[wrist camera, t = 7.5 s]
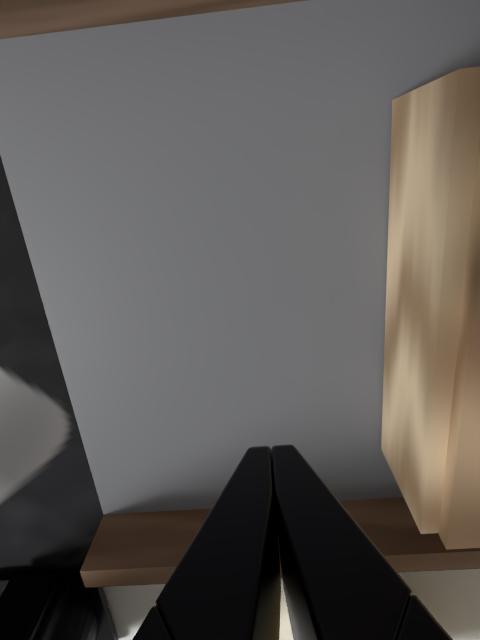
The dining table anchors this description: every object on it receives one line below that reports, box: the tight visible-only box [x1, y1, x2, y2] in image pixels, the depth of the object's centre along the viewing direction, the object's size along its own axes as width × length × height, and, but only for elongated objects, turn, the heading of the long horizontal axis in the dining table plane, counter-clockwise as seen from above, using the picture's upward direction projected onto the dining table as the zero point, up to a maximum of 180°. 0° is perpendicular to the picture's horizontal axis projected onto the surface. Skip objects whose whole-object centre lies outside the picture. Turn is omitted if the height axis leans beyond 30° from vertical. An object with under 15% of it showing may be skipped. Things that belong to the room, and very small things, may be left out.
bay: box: [0, 0, 480, 588], centre depth 15 cm, size 22×25×4 cm
